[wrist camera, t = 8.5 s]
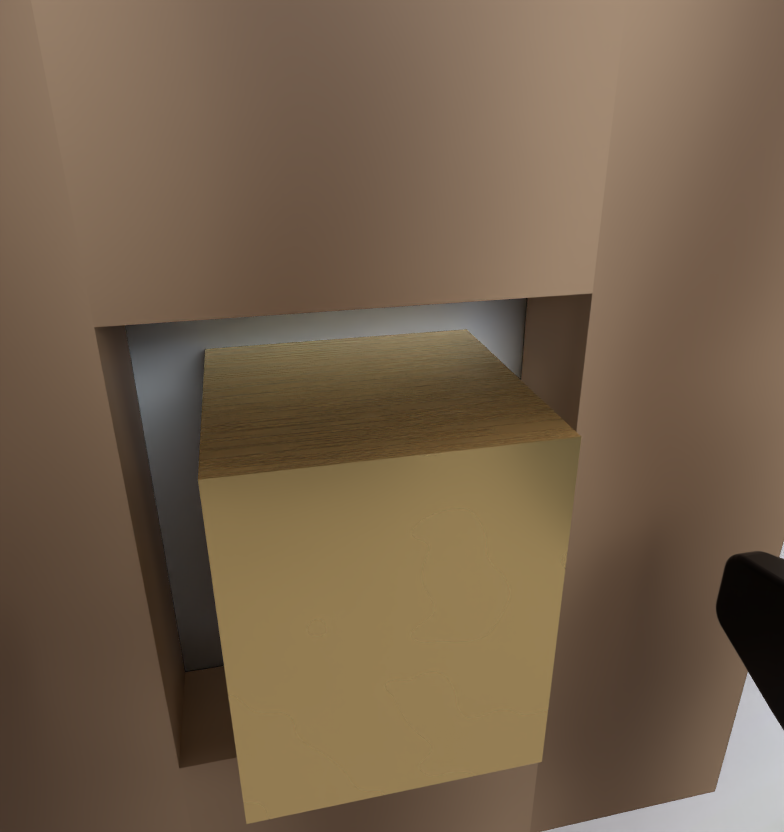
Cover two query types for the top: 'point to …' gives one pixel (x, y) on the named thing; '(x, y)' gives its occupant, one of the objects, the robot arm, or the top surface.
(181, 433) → the top surface
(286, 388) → the tan wooden block
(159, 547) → the brown square frame
